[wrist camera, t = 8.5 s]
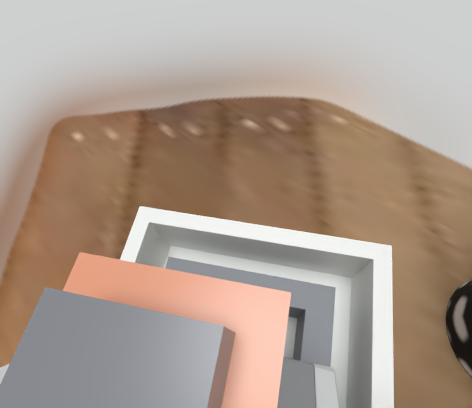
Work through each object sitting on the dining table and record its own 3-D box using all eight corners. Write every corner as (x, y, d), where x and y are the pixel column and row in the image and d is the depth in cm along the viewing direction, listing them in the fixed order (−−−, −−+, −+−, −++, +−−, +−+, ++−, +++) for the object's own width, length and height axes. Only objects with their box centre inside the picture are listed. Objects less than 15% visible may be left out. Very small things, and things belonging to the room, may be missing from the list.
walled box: (354, 557, 16) (397, 658, 11) (91, 471, 19) (23, 519, 14) (362, 270, 23) (391, 245, 18) (166, 236, 26) (139, 206, 20)
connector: (260, 433, 12) (236, 843, 2) (168, 408, 13) (-197, 624, 3) (274, 330, 14) (300, 271, 4) (192, 312, 15) (23, 221, 4)
